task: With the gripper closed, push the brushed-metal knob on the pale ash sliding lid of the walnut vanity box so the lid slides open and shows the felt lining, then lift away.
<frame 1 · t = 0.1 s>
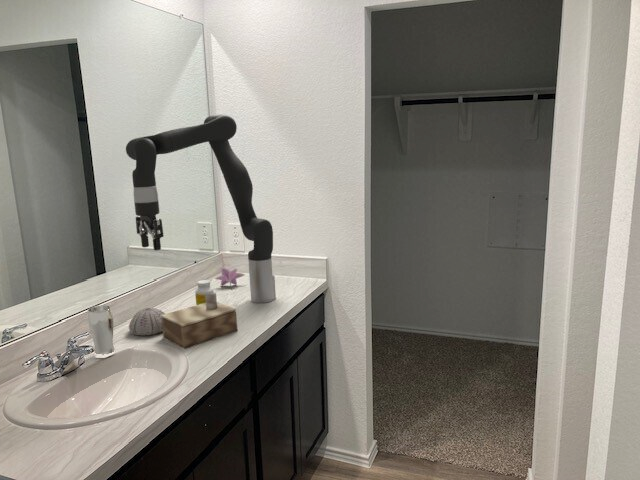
hand: (151, 248, 170), 29 cm above the worktop, fingers open, 8 cm apart
supplement bottle: (206, 315, 191), on the worktop
lily: (230, 287, 226), on the worktop
sea urchin shell: (149, 331, 177), on the worktop
walnut box: (200, 334, 171), on the worktop
beer glass: (105, 355, 158), on the worktop
lid: (198, 305, 170), point 10 cm above the worktop, slide at 0.0 cm
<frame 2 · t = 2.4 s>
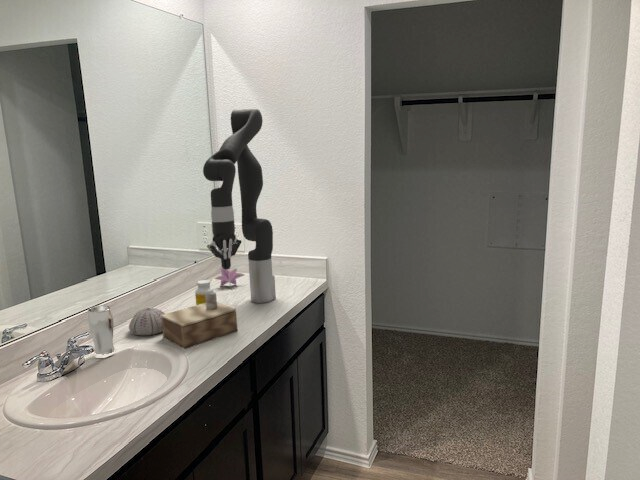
hand: (226, 268, 176), 20 cm above the worktop, fingers closed
nothing on the worktop moved.
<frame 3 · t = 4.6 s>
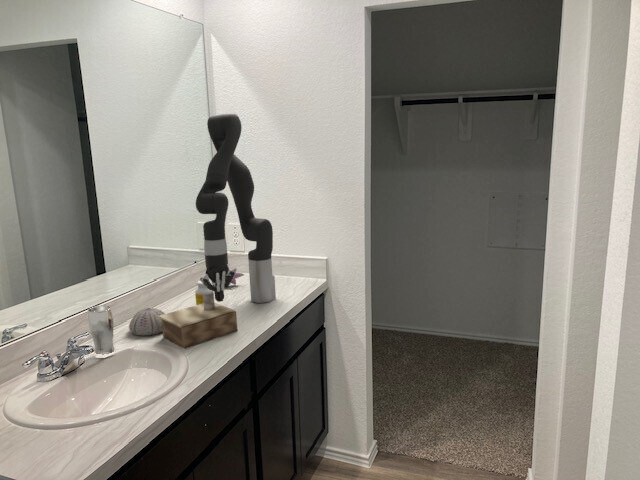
hand: (219, 301, 175), 10 cm above the worktop, fingers closed
lid: (195, 306, 169), point 10 cm above the worktop, slide at 1.0 cm, touching gripper
everything else where it was.
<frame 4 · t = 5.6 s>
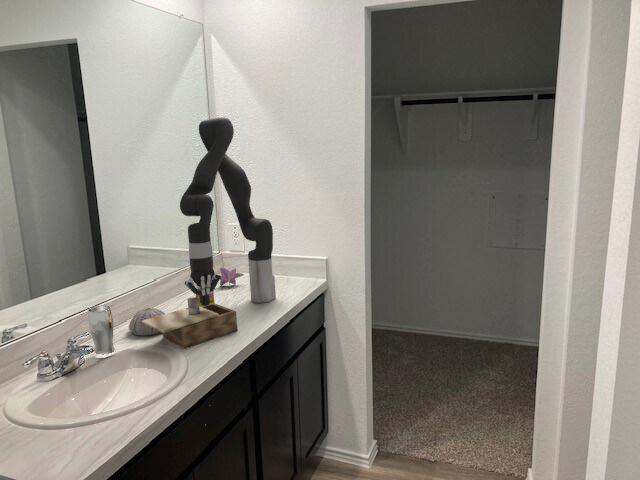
hand: (205, 305, 171), 10 cm above the worktop, fingers closed
lid: (180, 310, 165), point 10 cm above the worktop, slide at 6.7 cm, touching gripper
everything else where it was.
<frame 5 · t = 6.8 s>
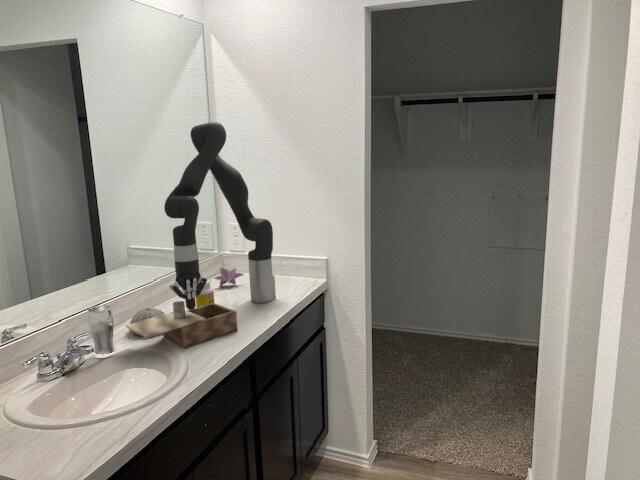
hand: (191, 309, 168), 10 cm above the worktop, fingers closed
lid: (165, 315, 161), point 10 cm above the worktop, slide at 12.0 cm, touching gripper
everything else where it was.
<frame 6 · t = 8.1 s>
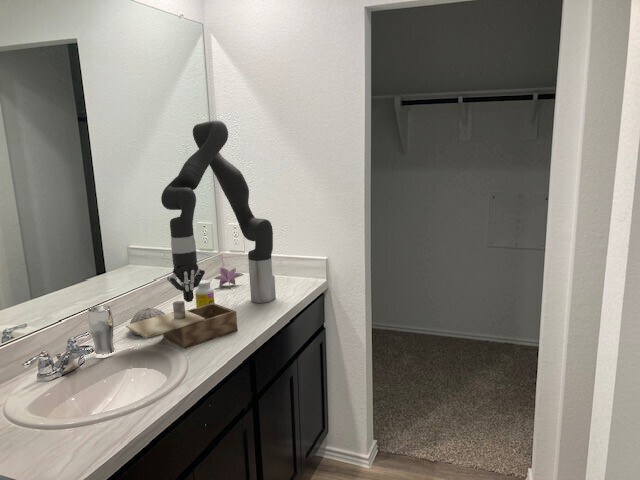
hand: (188, 301, 167), 13 cm above the worktop, fingers closed
lid: (165, 315, 161), point 10 cm above the worktop, slide at 12.0 cm
everything else where it was.
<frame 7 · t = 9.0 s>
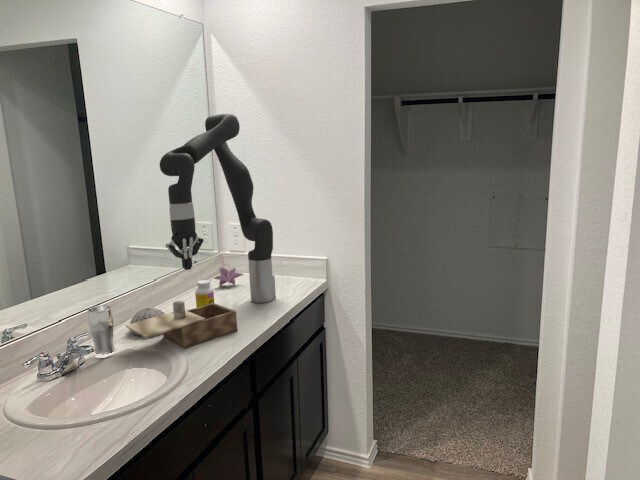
hand: (187, 269, 166), 23 cm above the worktop, fingers closed
nothing on the worktop moved.
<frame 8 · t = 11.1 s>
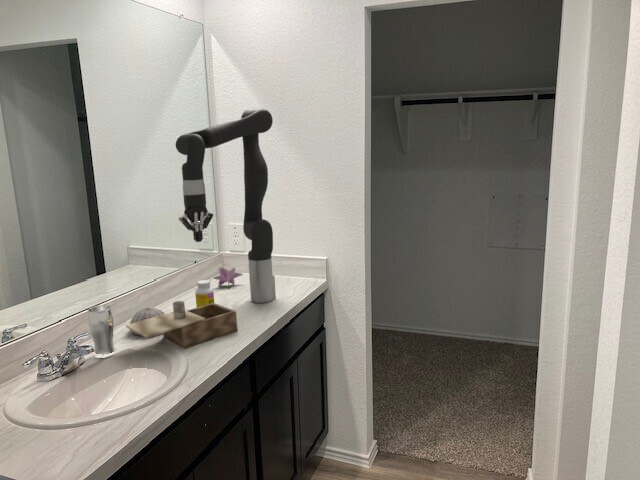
hand: (198, 241, 180), 29 cm above the worktop, fingers closed
at the end: lid slide at 12.0 cm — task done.
